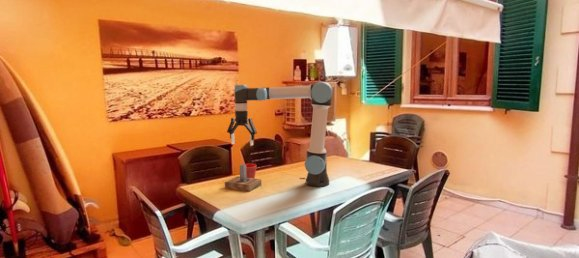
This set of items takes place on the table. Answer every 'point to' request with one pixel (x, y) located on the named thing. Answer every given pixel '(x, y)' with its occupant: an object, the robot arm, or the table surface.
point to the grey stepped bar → (243, 173)
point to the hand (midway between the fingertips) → (242, 144)
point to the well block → (243, 184)
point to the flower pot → (250, 170)
